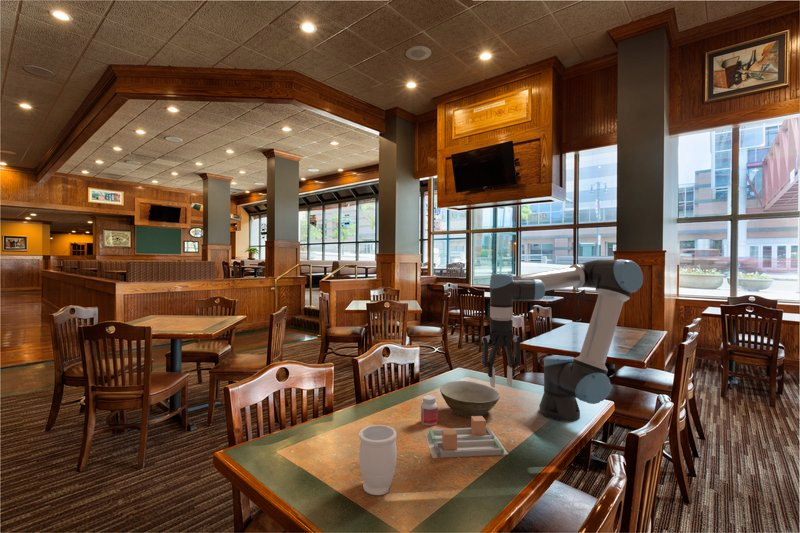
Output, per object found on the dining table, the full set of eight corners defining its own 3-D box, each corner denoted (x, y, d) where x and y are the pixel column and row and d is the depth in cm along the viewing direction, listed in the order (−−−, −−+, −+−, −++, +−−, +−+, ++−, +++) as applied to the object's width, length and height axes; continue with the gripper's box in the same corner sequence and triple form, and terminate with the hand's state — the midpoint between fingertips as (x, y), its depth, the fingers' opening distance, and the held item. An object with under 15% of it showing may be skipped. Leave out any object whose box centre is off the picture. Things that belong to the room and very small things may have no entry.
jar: (359, 476, 110) (359, 425, 110) (395, 474, 111) (395, 423, 111) (358, 499, 100) (358, 442, 99) (398, 497, 100) (398, 441, 100)
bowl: (509, 412, 156) (509, 388, 155) (481, 432, 138) (481, 405, 137) (459, 398, 171) (459, 376, 171) (428, 415, 153) (428, 390, 153)
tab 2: (482, 432, 134) (482, 415, 134) (485, 438, 130) (485, 420, 130) (471, 433, 133) (471, 416, 133) (474, 438, 129) (474, 421, 129)
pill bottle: (441, 427, 142) (441, 398, 142) (427, 431, 139) (427, 401, 138) (430, 421, 147) (430, 393, 147) (417, 425, 144) (417, 396, 143)
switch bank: (492, 435, 136) (492, 426, 135) (508, 458, 120) (508, 449, 120) (425, 438, 134) (424, 429, 134) (432, 462, 118) (432, 452, 118)
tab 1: (454, 447, 124) (454, 428, 124) (457, 453, 120) (457, 434, 120) (442, 447, 123) (442, 429, 123) (444, 453, 119) (444, 434, 119)
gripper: (522, 316, 136) (522, 381, 136) (472, 317, 134) (472, 383, 135) (531, 320, 128) (531, 388, 129) (478, 320, 127) (478, 390, 127)
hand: (501, 385), depth 132 cm, fingers open, 5 cm apart
